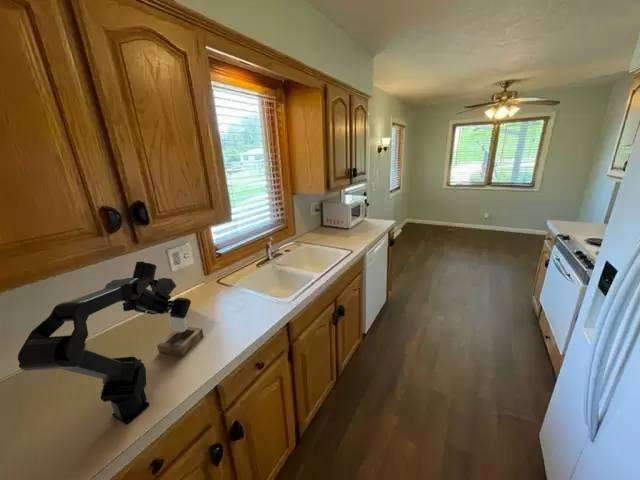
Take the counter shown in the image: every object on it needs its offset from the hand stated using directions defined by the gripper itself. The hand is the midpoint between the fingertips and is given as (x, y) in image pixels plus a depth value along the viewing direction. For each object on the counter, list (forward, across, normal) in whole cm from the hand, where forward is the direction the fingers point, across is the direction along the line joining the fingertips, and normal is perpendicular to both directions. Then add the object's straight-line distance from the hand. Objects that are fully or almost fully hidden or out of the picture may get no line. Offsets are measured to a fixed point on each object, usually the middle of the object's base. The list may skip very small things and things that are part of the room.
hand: (178, 311), depth 98 cm
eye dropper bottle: (+4, 0, +6) cm, 7 cm away
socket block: (+9, 0, +10) cm, 13 cm away
